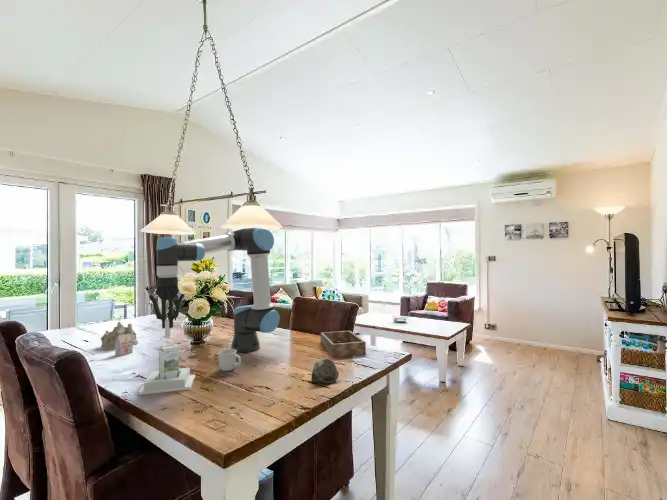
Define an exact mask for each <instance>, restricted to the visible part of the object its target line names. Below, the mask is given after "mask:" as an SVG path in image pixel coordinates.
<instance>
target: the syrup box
mask: <svg viewBox="0 0 667 500" xmlns="http://www.w3.org/2000/svg"><path fill="white" fill-rule="evenodd" d="M179 348H180V347H179V346H178V345H177V344H176V343H169V344H166V345H165V344H164V345H159V346H158V350H159V351H158V353H159V354H158V355H159V356H158V357H159V358H158V359H159V360H158V368H159V370H158V371H159V379H170V378H178V377H179V369H180V366H179V365H180V364H179V362H180V361H179V360H180V359H179V357H180V356H179V355H180V349H179Z"/></svg>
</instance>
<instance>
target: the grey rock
mask: <svg viewBox="0 0 667 500" xmlns="http://www.w3.org/2000/svg"><path fill="white" fill-rule="evenodd" d="M126 334H131V338H132V347H134V346H133V345H135V346H137V344H138V345H139V341H138V339H137V333H136V332H135V331H134V329H133V324H132V323H127V327H126V326H124V325H123V324H122V323H121V321H118V322H117V325H116V326H114V328H113V330H112V331H109V330H105V333H104V334H103V335H102V336H101V338H100V341H101V345H100V348H101V349H102V348H103V350H108V351H110V350H111V351H115V350H114V349H115V343H116V339H117V336H121V335H126Z"/></svg>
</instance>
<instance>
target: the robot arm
mask: <svg viewBox="0 0 667 500" xmlns="http://www.w3.org/2000/svg"><path fill="white" fill-rule="evenodd" d="M274 245H275V238H274V235H273V233H272V231H270V229H268V228H266V227H259V226H258V227H248V228H247V227H246V228H245V227H244V228H240V229H236V230H234V231H233V230H232V231H229V232H225V233H223V234H222V235H216V236H210V237H205V238H198V239H192V240H185V241H180V242H179V240H178V238H176V237H158V238H157V240H156V247H155V249H156V276H157V278H156V289H155V291H154V292H153V293H152V294H150V295H149V299H150V301H151V302H152V306H153V309H154V313H155V316H156V319H157V320H160V321H161V329H164V338H170V337H171V329H172V328H173V327H174V320H175V319H177V318H178V317H179V315H180V311H181V307H182V302H183V299H184V298H185V297H186V293H184V292H181V291H180V288H179V282H178V281H179V279H178V278H179V277H178V274H179V272H178V271H179V270H178V269H179V268H178V267H179V265H178V264H179V262H196V261H197V262H199V261H202V260H203V259H204V258H205V257H206V255H208V254H212V253H217V252H222V251H228V252H232V251H246V256H248V257H249V259H250V268H251V270H250V272H251V283H252V285H251V286H252V295H253V296H252V297H253V304H249V305H242V306H237V307H235V308H234V309H233V310H234V311H233V330H234V331H233V338H232V341H231V344H230V349H234V350H236V351H237V353H248V352H254V351H257V350H259V349H260V347H261V345H260V344H261V343H260V341H259V337H258V334H257V332H260V333H263V334H264V333H265V334H266V333H267V334H268V333H269V334H271V333H272V332H274V331H275V330H276V329H277V327H278V326H279V324H280V319H281V318H280V313H279V312H278V311H277V310H276V309H275V304H274V303H272V301H271V289H270V288H271V287H270V272H269V271H270V270H269V261H268V256H269V255H270V254H271V250H272V249H273V246H274ZM176 297H178V299H177V303H176V308H175V311H174V299H175V298H176ZM157 298H159V299H160V300H161V301H160V303H161V311H160V305H159V302H158V299H157ZM167 301H168V319H167Z"/></svg>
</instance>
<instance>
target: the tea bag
mask: <svg viewBox="0 0 667 500" xmlns="http://www.w3.org/2000/svg"><path fill="white" fill-rule="evenodd" d="M130 353H131V354H133V353H134V351H133V346H132V338H131V334H126V335H121V336H117V339H116V343H115V350H114V355H115V356H116V357H123V356H127V355H130ZM126 354H127V355H126ZM122 355H123V356H122Z"/></svg>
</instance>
